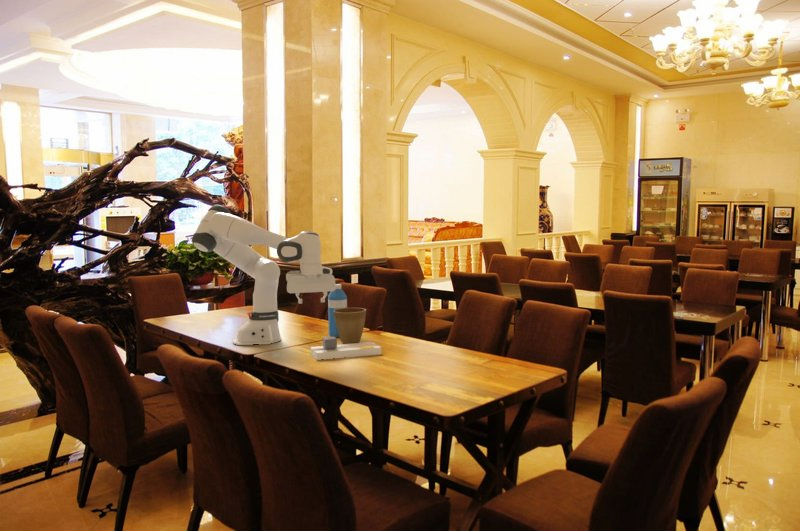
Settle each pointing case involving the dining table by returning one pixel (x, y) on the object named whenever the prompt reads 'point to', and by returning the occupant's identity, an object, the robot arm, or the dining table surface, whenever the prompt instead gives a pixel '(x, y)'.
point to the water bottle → (335, 301)
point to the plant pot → (350, 324)
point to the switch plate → (346, 351)
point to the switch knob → (329, 343)
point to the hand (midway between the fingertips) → (311, 302)
